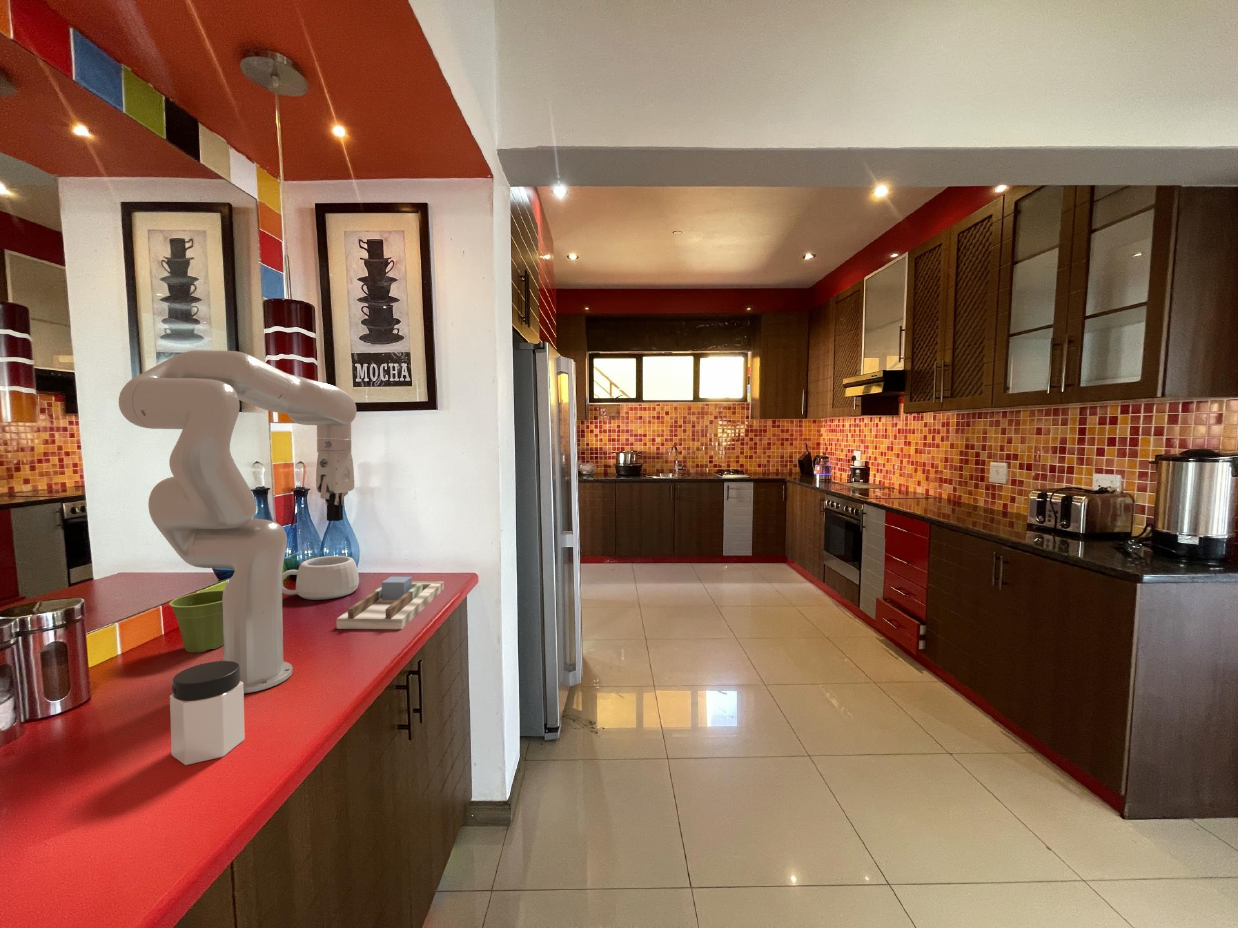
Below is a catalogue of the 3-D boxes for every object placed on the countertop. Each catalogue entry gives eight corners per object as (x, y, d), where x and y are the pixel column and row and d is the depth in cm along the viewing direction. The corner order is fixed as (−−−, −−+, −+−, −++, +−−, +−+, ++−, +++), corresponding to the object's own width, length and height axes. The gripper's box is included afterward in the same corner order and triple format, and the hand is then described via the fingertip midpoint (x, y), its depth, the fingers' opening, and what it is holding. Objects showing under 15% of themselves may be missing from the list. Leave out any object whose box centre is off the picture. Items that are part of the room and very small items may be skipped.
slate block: (403, 600, 147) (403, 582, 147) (381, 600, 147) (381, 582, 147) (411, 593, 153) (411, 576, 153) (390, 593, 153) (390, 576, 153)
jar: (205, 731, 86) (203, 658, 86) (255, 732, 86) (253, 659, 86) (157, 765, 77) (154, 684, 77) (212, 766, 77) (210, 685, 77)
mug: (351, 582, 173) (351, 552, 172) (365, 595, 160) (365, 562, 159) (273, 594, 159) (272, 561, 158) (281, 609, 146) (280, 573, 146)
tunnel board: (401, 628, 132) (401, 609, 132) (336, 628, 132) (336, 608, 132) (443, 589, 166) (443, 573, 166) (392, 588, 166) (391, 573, 166)
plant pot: (178, 642, 122) (177, 593, 122) (241, 633, 128) (240, 587, 127) (163, 661, 112) (161, 609, 111) (232, 652, 117) (231, 601, 117)
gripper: (333, 447, 124) (334, 525, 125) (363, 446, 139) (364, 516, 140) (301, 446, 124) (302, 524, 125) (335, 446, 139) (335, 516, 140)
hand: (334, 520), depth 133 cm, fingers closed
